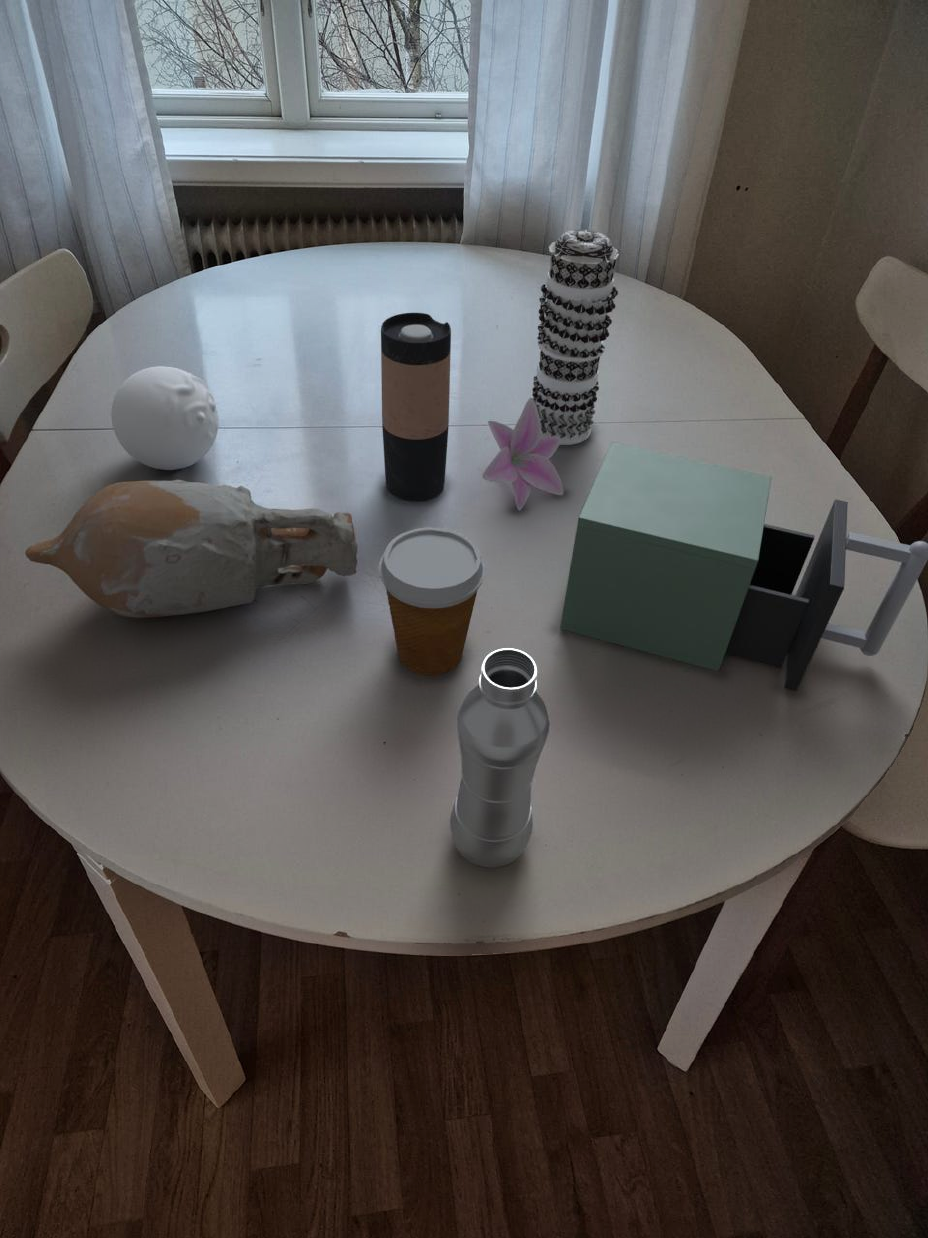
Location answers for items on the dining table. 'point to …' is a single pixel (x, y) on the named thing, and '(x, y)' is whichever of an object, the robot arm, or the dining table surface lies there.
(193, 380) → the decorative ball
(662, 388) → the dining table surface
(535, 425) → the lily
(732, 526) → the green drawer cabinet
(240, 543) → the amphora
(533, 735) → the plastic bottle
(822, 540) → the black drawer with handle
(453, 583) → the disposable coffee cup
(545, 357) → the black and white cylinder
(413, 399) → the travel mug
